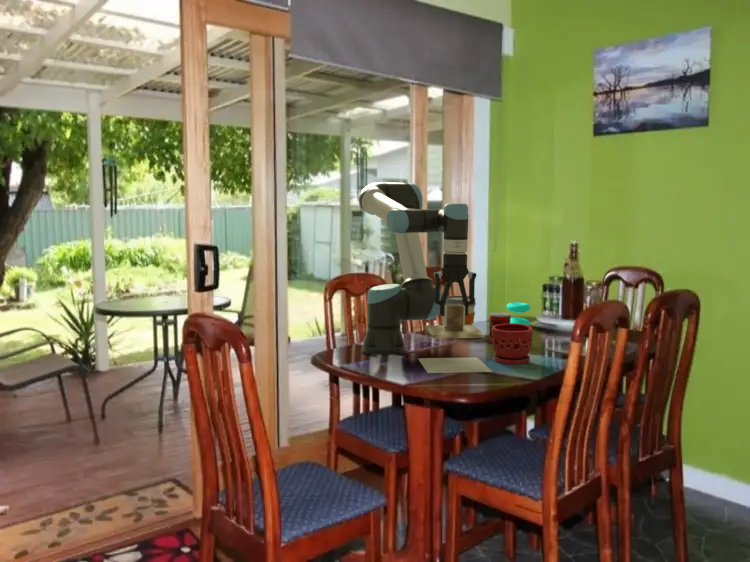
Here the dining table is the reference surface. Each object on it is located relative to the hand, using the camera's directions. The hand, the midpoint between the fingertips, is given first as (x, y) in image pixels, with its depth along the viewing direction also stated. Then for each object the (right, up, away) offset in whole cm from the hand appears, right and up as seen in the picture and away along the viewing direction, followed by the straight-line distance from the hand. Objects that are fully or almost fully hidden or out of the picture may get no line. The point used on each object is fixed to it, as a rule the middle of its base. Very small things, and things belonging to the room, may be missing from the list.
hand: (453, 325), depth 216 cm
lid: (0, -2, 0) cm, 2 cm away
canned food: (+22, -9, +40) cm, 46 cm away
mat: (0, -13, +1) cm, 13 cm away
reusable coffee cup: (+9, -7, +55) cm, 56 cm away
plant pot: (+20, -13, +7) cm, 24 cm away
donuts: (+36, -5, +74) cm, 82 cm away
